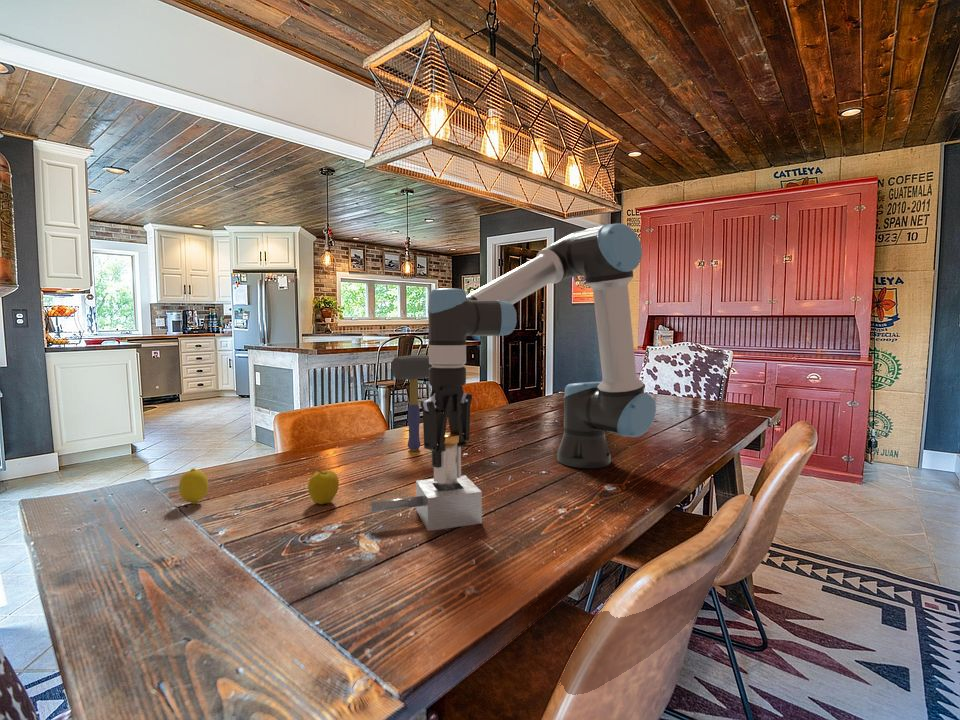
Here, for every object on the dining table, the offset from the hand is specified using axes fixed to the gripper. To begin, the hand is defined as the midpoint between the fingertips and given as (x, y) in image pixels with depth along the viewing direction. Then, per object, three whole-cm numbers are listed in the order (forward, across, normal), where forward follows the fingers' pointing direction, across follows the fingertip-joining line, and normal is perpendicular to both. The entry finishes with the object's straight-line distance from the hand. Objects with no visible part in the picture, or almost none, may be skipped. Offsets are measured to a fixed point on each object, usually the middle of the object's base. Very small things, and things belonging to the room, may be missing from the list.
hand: (447, 478), depth 100 cm
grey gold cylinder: (+5, 0, 0) cm, 5 cm away
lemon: (+8, +29, -49) cm, 57 cm away
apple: (+8, +11, -26) cm, 30 cm away
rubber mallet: (+8, -33, -43) cm, 55 cm away
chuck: (+8, +4, -3) cm, 9 cm away
